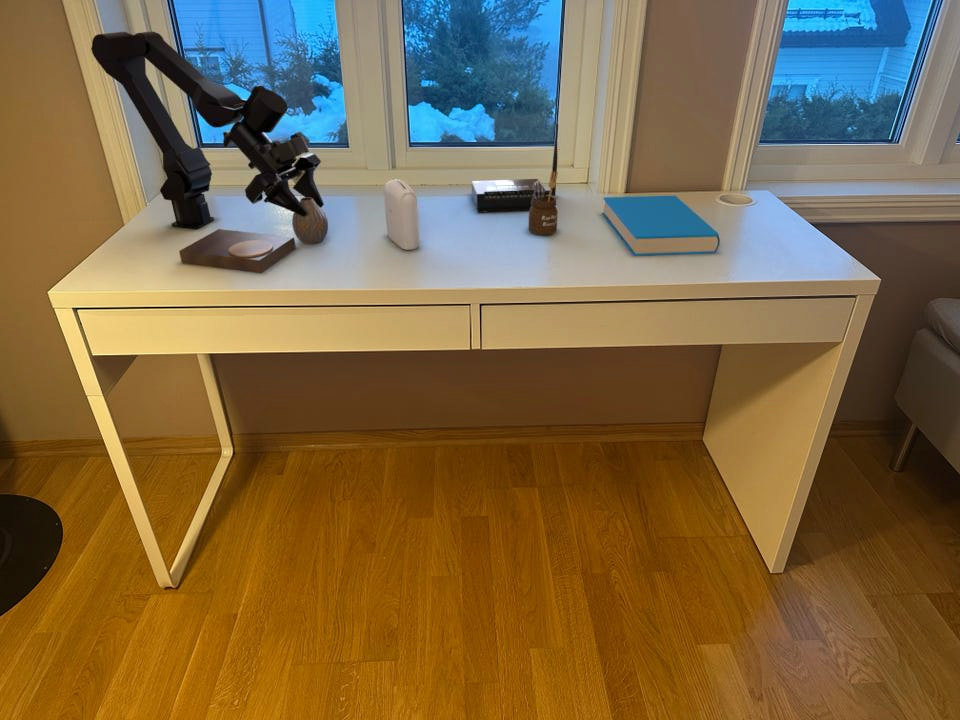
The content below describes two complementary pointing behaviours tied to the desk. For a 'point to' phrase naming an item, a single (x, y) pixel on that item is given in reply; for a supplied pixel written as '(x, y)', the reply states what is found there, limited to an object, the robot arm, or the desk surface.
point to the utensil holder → (543, 212)
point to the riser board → (238, 250)
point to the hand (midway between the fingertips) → (314, 210)
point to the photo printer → (401, 214)
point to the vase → (310, 223)
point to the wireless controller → (510, 191)
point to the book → (659, 226)
